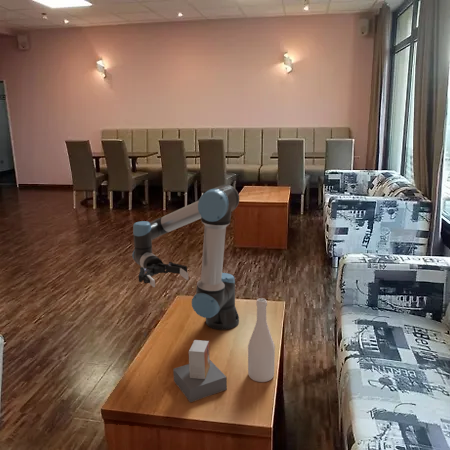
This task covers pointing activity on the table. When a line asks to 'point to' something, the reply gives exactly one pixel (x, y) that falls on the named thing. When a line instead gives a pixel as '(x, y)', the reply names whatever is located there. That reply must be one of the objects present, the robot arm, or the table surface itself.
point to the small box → (199, 359)
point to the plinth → (200, 382)
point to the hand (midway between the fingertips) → (171, 280)
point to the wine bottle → (261, 347)
